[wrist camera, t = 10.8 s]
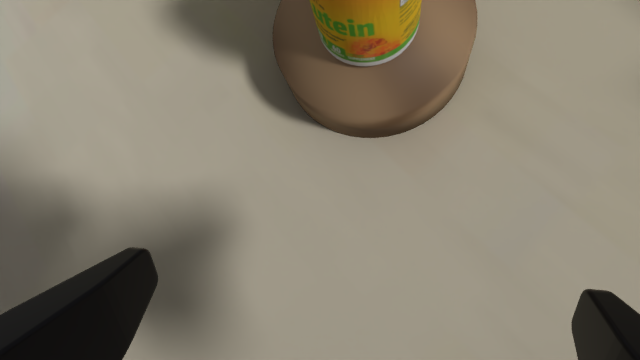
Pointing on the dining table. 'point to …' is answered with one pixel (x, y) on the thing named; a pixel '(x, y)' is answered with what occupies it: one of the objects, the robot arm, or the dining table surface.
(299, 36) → the plinth
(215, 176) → the dining table surface
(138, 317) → the robot arm
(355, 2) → the supplement bottle
